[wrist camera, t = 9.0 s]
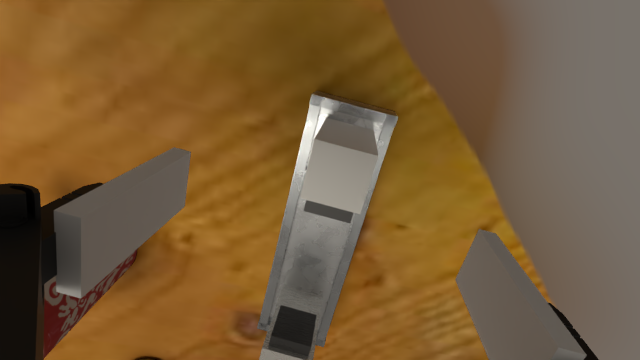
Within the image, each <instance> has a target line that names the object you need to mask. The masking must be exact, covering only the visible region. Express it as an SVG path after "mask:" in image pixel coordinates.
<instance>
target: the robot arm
mask: <svg viewBox="0 0 640 360" xmlns="http://www.w3.org/2000/svg"><path fill="white" fill-rule="evenodd" d="M190 155H191V152H189V151H186V150H182V149H178V148H172V149H170V150H168V151H166V152H164V153H163V154H161V155H159V156H157V157H155V158H153V159H151V160H149V161H147V162H145V163H143V164H141V165H140V166H138V167H136V168H134V169H132V170H130V171H128V172H126V173H124V174H122V175H120V176H118V177H117V178H115V179H113V180H111V181H109V182H107V183H105V184H103V183H96V184H91V185H87V186H83V187H81V188H79V189H77V190H75V191H73V192H72V193H69V194H67V195H65V196H63V197H62V198H59V199H57V200H55V201H53V202H51V203H49V204H47V205H45V206H43V207H41V205H40V192H39V190H38V189H36V188H35V187H33V186H29V185H24V184H11V183H10V184H0V360H43V349H44V301H45V290H44V284H45V283H46V282H48V281H49V280H51V279H52V278H53V277H55V276H56V292H59V293H62V294H66V295H70V296H73V297H77V298H82V297H83V296H85V295H86V294H87V293H88V292H89V291H90V290H91V289H92V288H94V287H95V286H96V285H97V284H98V283H99V282H100V281H101V280H103V279H104V278H105V277H106V276H107V275H108V274H109V273H110V272H112V271H113V270H114V269H115V268H116V267H117V266H118V265H119V264H121V263H122V262H123V261H124V260H125V259H126V258H127V257H128V256H130V255H131V254H132V253H133V252H134V251H135V250H136V249H137V248H139V247H140V246H141V245H142V244H143V243H144V242H145V241H146V240H147V239H149V238H150V237H151V236H152V235H153V234H154V233H155V232H156V231H158V230H159V229H160V228H161V227H162V226H163V225H164V224H165V223H167V222H168V221H169V220H170V219H171V218H172V217H173V216H174V215H176V214H177V213H178V212H179V211H180V210H181V209H182V208H183V207H184V206H185V198H186V189H187V180H188V172H189V163H190ZM456 282H457V285H458V287H459V289H460V292H461V294H462V297H463V299H464V301H465V304H466V306H467V308H468V311H469V313H470V316H471V318H472V320H473V323H474V325H475V327H476V330H477V332H478V335H479V337H480V339H481V342H482V344H483V346H484V349H485V351H486V354H487V356H488V358H489V360H598V358H597V357H596V356H595V354H594V353H593V352H592V351H591V349H590V348H589V347H588V346H587V344H586V343H585V342H584V340H583V339H582V338H580V335H579V334H578V333H577V331H576V330H575V329H573V326H572V325H571V324H570V322H569V321H568V320H567V318H566V317H565V316H564V315H563V314H562V313H561V312H560V311H559V310H558V309H556V308H555V307H554V306H553V305H552V304H551V303H547V301H546V300H545V299H544V297H543V296H542V295H541V293H540V292H539V291H538V289H537V288H536V287H535V285H534V284H533V283H532V281H531V280H530V279H529V277H528V276H527V275H526V273H525V272H524V271H523V269H522V268H521V267H520V265H519V264H518V263H517V261H516V260H515V258H514V257H513V256H512V254H511V253H510V252H509V250H508V249H507V248H506V246H505V245H504V244H503V242H502V241H501V240H500V238H499V237H498V236H497V234H495V233H491V232H488V231H484V230H480V229H479V230H478V232H477V234H476V237H475V239H474V241H473V243H472V245H471V247H470V250H469V252H468V254H467V256H466V258H465V260H464V262H463V265H462V267H461V269H460V271H459V273H458V275H457V278H456Z"/></svg>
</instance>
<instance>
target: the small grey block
mask: <svg viewBox="0 0 640 360" xmlns="http://www.w3.org/2000/svg"><path fill="white" fill-rule="evenodd" d="M377 159H378V150H377V145H376V139H375V133H374V130H372V129H368V128H364V127H360V126H356V125H352V124H349V123H345V122H341V121H337V120H333V119H330V118H326V119H325V121H324V123H323V124H322V126H321V128H320V130H319V131H318V133H317V135H316V137H315V139H314V142H313V146H312V150H311V154H310V159H309V163H308V167H307V171H306V175H305V179H304V183H303V187H302V192H301V196H300V198H301V199H305V200H306V203H305V207H304V211H305V212H309V213H313V214H317V215H320V216H324V217H328V218H331V219H335V220H339V221H343V222H346V223H351V220H352V216H353V213H357V214H361V210H362V207H363V204H364V201H365V198H366V195H367V191H368V188H369V185H370V182H371V179H372V175H373V172H374V169H375V166H376V163H377Z"/></svg>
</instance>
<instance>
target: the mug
mask: <svg viewBox="0 0 640 360" xmlns="http://www.w3.org/2000/svg"><path fill="white" fill-rule="evenodd" d="M136 254H137V249H136V250H135V251H134V252H133V253H132V254H131V255H130V256H128V257H127V258H126V259H125V260H124V261H123V262H122V263H121V264H119V265H118V266H117V267H116V268H115V269H114V270H113V271H112V272H110V273H109V274H108V275H107V276H106V277H105V278H104V279H103V280H101V281H100V282H99V283H98V284H97V285H96V286H95V287H94V288H92V289H91V290H90V291H89V292H88V293H87V294H86V295H85V296H83V297H82V298H77V297H73V296H70V295H66V294H62V293H59V292H56V276H55V277H53V278H52V279H51V280H49V281H48V282H46V283H45V284H44V290H45V301H44V349H43V359H44V358H45V357H46V355H47V354H48V353H49V352H50V351H51V350H52V349H53V348H54V347H55V346H56V345H57V344H58V343H59V342H60V341H61V340H62V338H63V337H64V336H65V335H66V334H67V333H68V332H69V331H70V330H71V329H72V328H73V327H74V326H75V325H76V324H77V322H78V321H79V320H80V319H81V318H82V317H83V316H84V315H85V314H86V313H87V312H88V311H89V310H90V308H91V307H92V306H93V305H94V304H95V303H96V302H97V301H98V300H99V299H100V298H101V297H102V296H103V295H104V294H105V293H106V292H107V291H108V290H109V289H110V287H111V286H112V285H113V284H114V283H115V282H116V281H117V280H118V279H119V278H120V277H121V276H122V275H123V274H124V272H125V271H126V270H127V269H128V268H129V267H130V266H131V265H132V264H133V262H134V260H135V258H136Z"/></svg>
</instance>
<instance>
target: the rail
mask: <svg viewBox="0 0 640 360" xmlns="http://www.w3.org/2000/svg"><path fill="white" fill-rule="evenodd" d="M309 104H310V107H309V111H308V115H307V120H306V124H305V128H304V132H303V137H302V141H301V145H300V150H299V154H298V158H297V162H296V167H295V171H294V175H293V179H292V184H291V188H290V192H289V197H288V201H287V205H286V209H285V214H284V218H283V222H282V227H281V231H280V235H279V239H278V244H277V248H276V252H275V257H274V261H273V265H272V269H271V274H270V278H269V282H268V286H267V291H266V295H265V299H264V304H263V308H262V312H261V316H260V320H259V322H258V327H257V328H258V329H261V330H265V331H268V332H267V335H266V338H265V341H264V344H263V347H262V351H261V355H260V359H259V360H313V356H314V350H315V345H318V346H322V347H324V344H325V341H326V335H327V332H328V329H329V326H330V323H331V320H332V317H333V314H334V311H335V308H336V304H337V301H338V298H339V295H340V292H341V289H342V286H343V283H344V280H345V277H346V273H347V270H348V267H349V264H350V261H351V258H352V255H353V252H354V249H355V246H356V243H357V239H358V236H359V233H360V230H361V227H362V224H363V221H364V218H365V215H366V212H367V209H368V205H369V202H370V199H371V196H372V193H373V190H374V187H375V184H376V181H377V178H378V175H379V171H380V168H381V165H382V162H383V159H384V156H385V153H386V150H387V147H388V144H389V141H390V137H391V134H392V131H393V128H394V127H395V125H396V122H397V119H398V116H397V114H396V113H395V111H391V110H388V109H384V108H380V107H376V106H373V105H369V104H365V103H361V102H357V101H354V100H350V99H346V98H342V97H339V96H335V95H331V94H327V93H324V92H320V91H315V92H314V93H312V95H311V99H310V103H309ZM326 118H330V119H333V120H337V121H341V122H345V123H349V124H352V125H356V126H360V127H364V128H368V129H372V130H374V133H375V139H376V145H377V150H378V159H377V163H376V166H375V169H374V172H373V175H372V179H371V182H370V185H369V188H368V191H367V195H366V198H365V201H364V204H363V207H362V210H361V214H357V213H353V216H352V220H351V223H346V222H343V221H339V220H335V219H331V218H328V217H324V216H320V215H317V214H313V213H309V212H305V211H304V207H305V203H306V200H305V199H301V198H300V196H301V192H302V187H303V183H304V179H305V175H306V171H307V167H308V163H309V159H310V154H311V150H312V146H313V142H314V139H315V137H316V135H317V133H318V131H319V130H320V128H321V126H322V124H323V123H324V121H325V119H326Z"/></svg>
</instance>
